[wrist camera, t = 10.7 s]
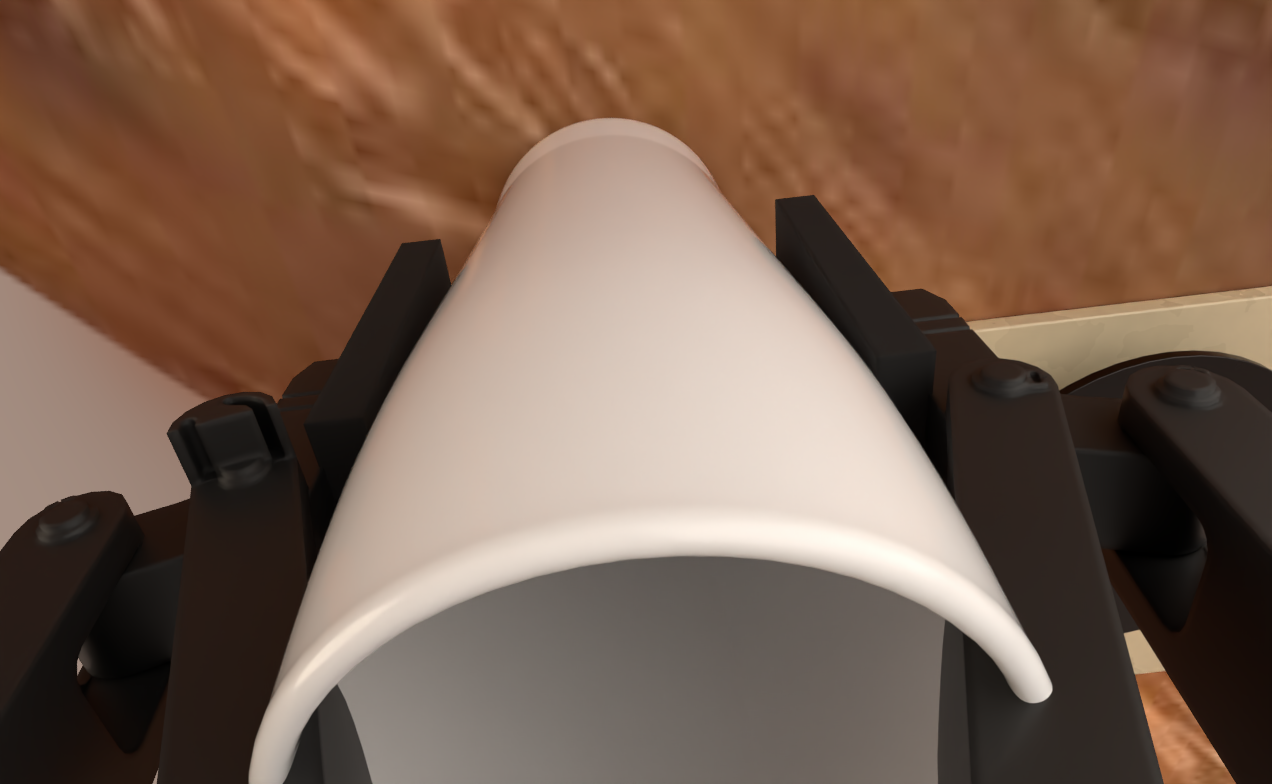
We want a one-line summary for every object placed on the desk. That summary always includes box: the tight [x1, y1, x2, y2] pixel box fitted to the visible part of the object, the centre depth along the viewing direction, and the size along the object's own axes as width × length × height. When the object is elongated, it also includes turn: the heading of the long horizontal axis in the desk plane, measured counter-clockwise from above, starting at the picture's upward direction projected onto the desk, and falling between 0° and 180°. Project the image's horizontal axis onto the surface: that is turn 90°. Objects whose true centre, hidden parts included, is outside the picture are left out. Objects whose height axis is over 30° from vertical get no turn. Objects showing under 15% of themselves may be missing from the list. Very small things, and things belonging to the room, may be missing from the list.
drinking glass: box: [249, 118, 1052, 784], centre depth 13 cm, size 7×7×15 cm
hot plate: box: [966, 286, 1272, 674], centre depth 24 cm, size 14×18×3 cm
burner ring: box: [1059, 350, 1272, 633], centre depth 22 cm, size 9×9×1 cm
